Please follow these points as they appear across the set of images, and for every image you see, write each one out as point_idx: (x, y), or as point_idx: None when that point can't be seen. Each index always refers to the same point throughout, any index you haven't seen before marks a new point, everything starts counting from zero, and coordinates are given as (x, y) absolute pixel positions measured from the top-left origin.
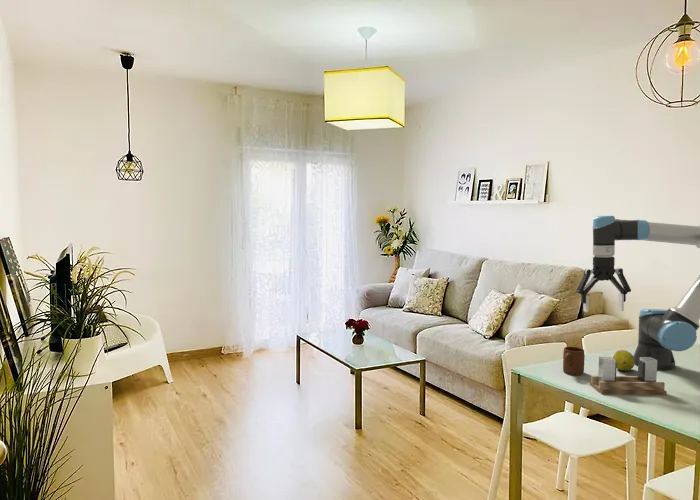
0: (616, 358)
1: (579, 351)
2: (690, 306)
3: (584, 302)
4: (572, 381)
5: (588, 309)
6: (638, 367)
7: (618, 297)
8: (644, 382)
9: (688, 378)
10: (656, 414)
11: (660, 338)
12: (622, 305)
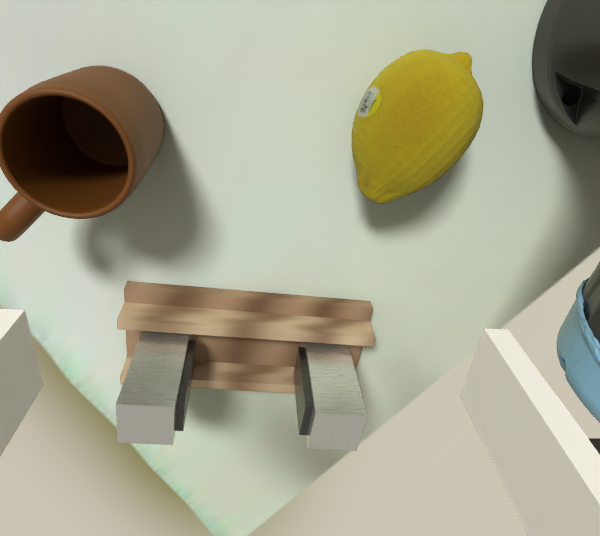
0: (360, 148)
1: (85, 215)
2: None
3: None
4: (65, 242)
5: (26, 411)
6: (302, 384)
7: (572, 488)
8: (289, 390)
9: (579, 243)
10: (216, 481)
11: (569, 344)
12: (496, 452)
